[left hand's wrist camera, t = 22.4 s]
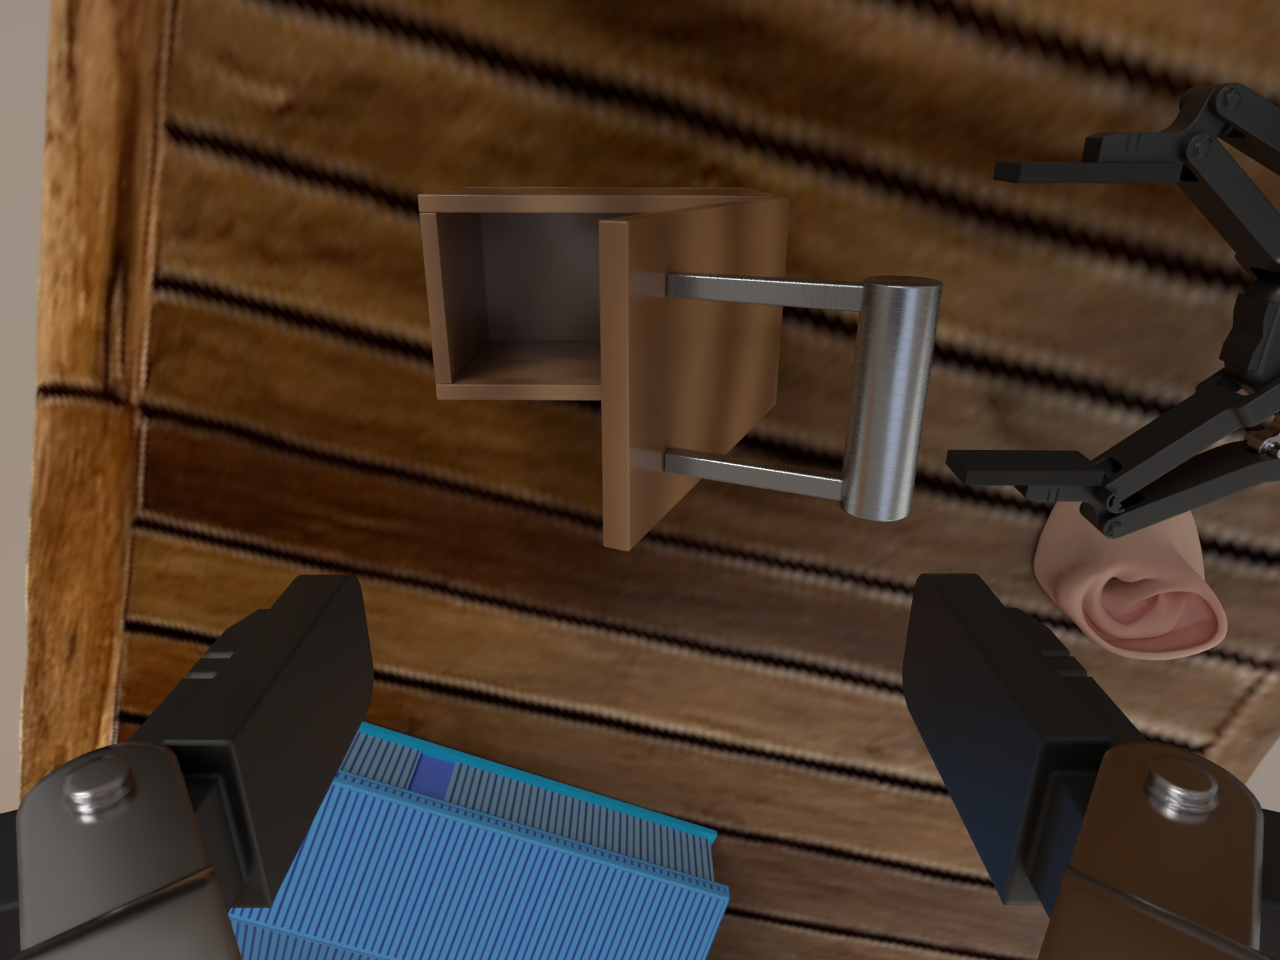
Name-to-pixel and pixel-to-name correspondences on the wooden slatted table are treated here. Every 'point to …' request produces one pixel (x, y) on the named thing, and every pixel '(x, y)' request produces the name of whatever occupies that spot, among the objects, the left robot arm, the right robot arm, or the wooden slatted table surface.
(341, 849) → the model building
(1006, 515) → the wooden slatted table surface
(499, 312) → the chest
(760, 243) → the lid
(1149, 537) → the anatomical model
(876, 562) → the wooden slatted table surface
